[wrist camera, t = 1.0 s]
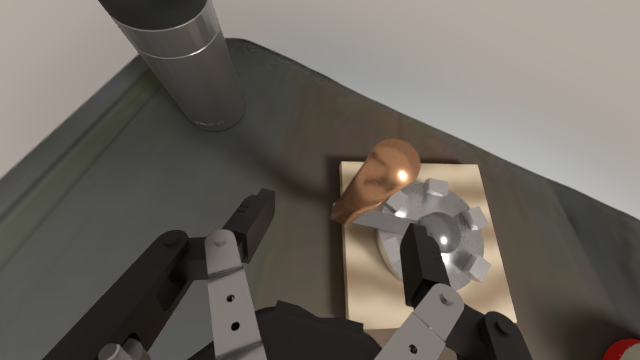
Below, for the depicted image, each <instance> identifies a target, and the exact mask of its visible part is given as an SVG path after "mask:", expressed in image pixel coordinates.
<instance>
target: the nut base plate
mask: <svg viewBox="0 0 640 360" xmlns="http://www.w3.org/2000/svg"><path fill="white" fill-rule="evenodd" d="M363 163H364V162H343V161H341V164H340V166H339V173H340V196H341V195H342V194H343V192H344V191H345V189H346V188H347V186H348V185H349V183H350V182H351V181H352V179H353V178H354V176H355V175H356V173H357V172H358V170H359V169H360V168H361V166H362V165H363ZM428 178H433V179H438V180H442V181H447V182H448V189H449V190H450V191H452V192H454V193H455V194H457V195H458V196H459V197H460V198H461V199H463V200H464V201H465V202H466V204H467V205H468V206H469V207H470V208H474V207H478V206H479V207H480V208H481V210H482V212H483V214H484V216H485V218H486V219H487V221H488V223H489V225H488V226H485V227H483V228H481V230H482V234H483V240H484V255H483V258H484V259H485V260H486V261H487V262H489V263H490V264H491V267H490V269H489V270H488V272H487V274H486V276H485V278H484V280H483V282H475V281H474V280H472V281H471V282H470V283H468V284H467V285H466V286H465V287H463V288H461V289H459V290H457V292H458V293H459V295H460V296H461V298H462V300H463V302H464V303H465V304H466V305H468V306H469V307H471V308H473V309H475V310H477V311H479V312H481V313H482V314H484V315H485V314H486V313H487V312H489V311H496V312H499V313H501V314H503V315H505V316H507V317H508V318H509V319H510V320H511V321H513V322H514V323H517V320H516V316H515V312H514V308H513V304H512V300H511V296H510V292H509V288H508V284H507V280H506V276H505V272H504V268H503V264H502V260H501V256H500V252H499V248H498V244H497V240H496V236H495V232H494V228H493V224H492V220H491V216H490V213H489V209H488V205H487V201H486V197H485V193H484V189H483V185H482V181H481V177H480V173H479V169H478V165H463V164H423V163H421V168H420V172H419V175H418V176H417V178H416V179H415V180H414V181H412V182H411V183H409V184H408V185H410V184H414V183H425V180H427V179H428ZM384 201H385V200H384ZM384 201H383V202H381V203H380V204H378V205H377V206H375V207H374V208H373V209H371V211H375V212H378V211H379V209H380V207H381V205H382V204H383V203H384ZM342 241H343V264H344V287H345V309H346V319H349V320H352V321H356V322H360V323H363V324H364V325H363V329H382V328H400V326H401V325H402V324H403V323H404V321H405V320H406V319H407V318H408V316H409V315H410V314H411V313H412V312H413V311H414V309H413V307H409V306H406V304H405V295H404V286H403V282H401V281H400V280H399V279H397V278H396V277H395V276H394V275H393V274H392V273H391V272H390V271H389V270H388V268H387V267H386V266H385V264H384V263H383V261H382V259H381V257H380V255H379V253H378V250H377V247H376V243H375V237H374V229H371V228H366V227H361V226H357V225H352V224H348V225H342Z"/></svg>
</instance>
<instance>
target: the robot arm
mask: <svg viewBox="0 0 640 360" xmlns="http://www.w3.org/2000/svg"><path fill="white" fill-rule="evenodd" d="M98 1H99V2H100V3H101V5H102V6H103V7H104V8H105V10H106V11H107V12H108V13H109V15H110V16H111V18H112V19H113V20H114V21H115V23H116V24H117V25H118V27H119V28H120V29H121V31H122V32H123V33H124V34H125V36H126V37H127V38H128V40H129V41H130V42H131V44H132V45H133V46H134V47H135V49H136V50H137V51H138V53H139V54H140V55H141V57H142V58H143V59H144V61H145V62H146V63H147V65H148V66H149V67H150V68H151V70H152V71H153V72H154V74H155V75H156V76H157V78H158V79H159V80H160V82H161V83H162V84H163V85H164V87H165V88H166V89H167V91H168V92H169V93H170V95H171V96H172V97H173V99H174V100H175V101H176V103H177V104H178V105H179V107H180V108H181V109H182V110H183V112H184V113H185V114H186V116H187V117H188V118H189V120H190V121H191V122H192V123H193V124H194V125H195V126H197V127H198V128H200V129H203V130H206V131H221V130H225V129H227V128H230V127H232V126H233V125H235V124H236V123H237V122H238V121H239V120H240V119H241V117H242V116H243V114H244V111H245V101H244V98H243V95H242V92H241V88H240V85H239V82H238V79H237V76H236V73H235V70H234V67H233V64H232V61H231V58H230V55H229V52H228V49H227V46H226V43H225V39H224V36H223V33H222V30H221V27H220V24H219V21H218V18H217V16H216V12H215V10H214V7H213V3H212V1H211V0H98ZM274 213H275V191H272V190H268V189H264V188H262V189H261V190H260V192H259V193H258V195H257V196H256V195H250V196H249V197H247V198H246V199H244V201H243V202H242V203H241V205H240V206H239V207H238V208H237V210H236V211H235V212H234V214H233V215H232V216H231V218H230V219H229V220H228V222H227V223H226V224H225V225H224V227H223V228H222V229H221V230H217V231H214V232H212V233H211V234H209V235H208V236H207V237H200V238H188V236H187V234H186V233H185V232H184V231H181V230H172V231H168V232H165V233H163V234H162V235H160V236H159V237H158V238H157V239H156V240H155V241H154V242H153V243H152V244H151V245H150V246H149V247H148V248H147V249H146V250H145V252H144V253H143V254H142V255H141V256H140V257H139V258H138V259H137V260H136V261H135V262H134V263H133V264H132V265H131V266H130V267H129V268H128V269H127V271H126V272H125V273H124V274H123V275H122V276H121V277H120V278H119V279H118V280H117V281H116V282H115V283H114V284H113V285H112V286H111V287H110V288H109V290H108V291H107V292H106V293H105V294H104V295H103V296H102V297H101V298H100V299H99V300H98V301H97V302H96V303H95V304H94V305H93V306H92V307H91V309H90V310H89V311H88V312H87V313H86V314H85V315H84V316H83V317H82V318H81V319H80V320H79V321H78V322H77V323H76V324H75V325H74V327H73V328H72V329H71V330H70V331H69V332H68V333H67V334H66V335H65V336H64V337H63V338H62V339H61V340H60V341H59V342H58V343H57V344H56V346H55V347H54V348H53V349H52V350H51V351H50V352H49V353H48V354H47V355H46V356H45V357H44V358H43V359H42V360H151V359H150V356H149V354H148V353H147V352H148V350H149V349H150V347H151V346H152V344H153V343H154V341H155V339H156V338H157V336H158V335H159V333H160V332H161V330H162V329H163V327H164V326H165V324H166V322H167V321H168V319H169V318H170V316H171V315H172V313H173V312H174V310H175V309H176V307H177V305H178V304H179V302H180V301H181V299H182V298H183V296H184V295H185V293H186V292H187V290H188V288H189V287H190V285H191V284H192V282H193V281H194V280H206V279H207V280H208V290H209V300H210V309H211V319H212V328H213V338H214V341H212V342H211V343H210V344H208V345H207V346H205V347H204V348H203V349H201V350H200V351H198V352H197V353H196V354H194V355H193V356H192V357H190V358H189V359H187V360H437V359H438V357H439V355H440V353H441V352H442V350H443V348H444V346H446V347H448V348H450V349H451V350H453V351H454V352H456V355H457V360H532V357H531V355H530V353H529V350H528V348H527V346H526V343H525V341H524V339H523V336H522V334H521V332H520V330H519V329H518V327H517V326H516V325H515V324H514V322H513V321H511V320H510V319H509V318H508V317H507V316H505V315H503V314H501V313H499V312H496V311H489V312H487V313H486V314H485V315H484V314H482V313H481V312H479V311H477V310H475V309H473V308H471V307H469V306H468V305H466V304H465V303H464V302H463V300H462V298H461V296H460V295H459V293H458V292H457V291H456V290H454V289H453V288H452V287H451V285H450V281H449V278H448V274H447V271H446V268H445V264H444V262H443V257H442V255H441V251H440V247H439V245H438V243H437V242H436V241H435V239H434V238H433V237H430V236H428V234H427V230H426V227H425V226H423V225H419V224H415V223H410V224H409V226H408V228H407V230H406V232H405V234H404V236H403V238H402V240H401V244H400V259H401V268H402V277H403V286H404V295H405V304H406V306H409V307H413V309H414V311H413V312H412V313H411V314H410V315H409V316H408V318H407V319H406V320H405V321H404V323H403V324H402V325H401V326H400V328H399V329H398V330H397V331H396V333H395V334H394V335H393V336H392V338H391V339H390V340H389V341H388V343H387V344H386V345H385V346H384V348H383V349H382V348H381V346H380V345H379V344H378V343H377V342H376V340H374V339H373V338H372V337H371V336H370V335H369V334H367V333H366V332H364V331H363V325H364V324H363V323H360V322H356V321H352V320H349V319H345V318H319V317H317V316H315V315H313V314H311V313H310V312H308V311H306V310H305V309H303V308H301V307H300V306H297V305H294V304H290V303H286V302H283V301H279V300H278V301H277V304H276V307H266V308H263V309H260V310H257V311H255V312H254V308H253V304H252V300H251V296H250V292H249V288H248V284H247V279H246V275H245V271H244V268H243V267H242V262H244V263H248V264H249V262H250V260H251V259H252V257H253V255H254V253H255V251H256V249H257V247H258V246H259V244H260V242H261V240H262V238H263V236H264V234H265V233H266V231H267V229H268V227H269V225H270V223H271V221H272V219H273V217H274Z"/></svg>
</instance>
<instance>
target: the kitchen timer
mask: <svg viewBox="0 0 640 360" xmlns="http://www.w3.org/2000/svg"><path fill="white" fill-rule="evenodd" d="M603 360H640V340H636V339H624V340H619V341H617V342H616V343H614V344H613V345H611V346H610V347H609V348H608V350H607V352H606V353H605V355H604V356H603Z"/></svg>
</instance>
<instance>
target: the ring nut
mask: <svg viewBox="0 0 640 360" xmlns="http://www.w3.org/2000/svg"><path fill="white" fill-rule="evenodd" d="M420 168H421V163H420V158H419V156H418V154H417V152H416V151H415V149H414V148H413V147H412V146H411V145H410V144H408V143H407V142H405V141H402V140H399V139H385V140H383V141H381V142H379V143H378V144H377V145H376V146H375V147H374V149H373V150H372V152H371V153H370V155H369V156H368V157H367V159H366V160H365V162H364V163H363V165H362V166H361V168H360V169H359V170H358V172H357V173H356V175H355V176H354V178H353V179H352V181H351V182H350V183H349V185H348V186H347V188H346V189H345V191H344V192H343V194H342V195H341V196H340V198H339V199H338V201H337V202H336V203H333V204H332V209H331V214H330V220H333V221H336V222H337V223H339V224H341V225H348V224H352V225H357V226H361V227H366V228H371V229H374V237H375V243H376V247H377V250H378V253H379V255H380V257H381V259H382V261H383V263H384V264H385V266H386V267H387V268H388V270H389V271H390V272H391V273H392V274H393V275H394V276H395V277H396V278H397V279H399V280H400V281H401V282H403V277H402V268H401V259H400V244H401V240H402V238H403V236H404V234H405V232H406V230H407V228H408V226H409V224H410V223H415V224H419V225H423V226H425V227H426V230H427V234H428V236H430V237H433V238H434V239H435V241H436V242H437V243H438V245H439V247H440V251H441V255H442V257H443V262H444V264H445V268H446V271H447V274H448V278H449V281H450V285H451V287H452V288H453V289H454V290H456V291H457V290H459V289H461V288H463V287H465V286H466V285H467V284H468V283H470V282H471V281H472V280H474V281H475V282H483V280H484V278H485V276H486V274H487V272H488V270H489V269H490V267H491V264H490V263H489V262H487V261H486V260H485V259H484V258H483V255H484V240H483V234H482V230H481V228H483V227H485V226H488V225H489V223H488V221H487V219H486V218H485V216H484V214H483V212H482V210H481V208H480V207H479V206H478V207H474V208H470V207H469V206H468V205H467V204H466V202H465V201H464V200H463V199H461V198H460V197H459V196H458V195H457V194H455V193H454V192H452V191H450V190H449V189H448V182H447V181H442V180H438V179H433V178H428V179H427V180H425V183H414V184H410V185H408V184H409V183H411V182H412V181H414V180H415V179H416V178H417V176H418V175H419V172H420ZM384 200H385V201H384ZM383 201H384V203H383V204H382V205H381V207H380V209H379V211H378V212H375V211H371V209H373V208H374V207H375V206H377V205H378V204H380V203H381V202H383Z"/></svg>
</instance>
